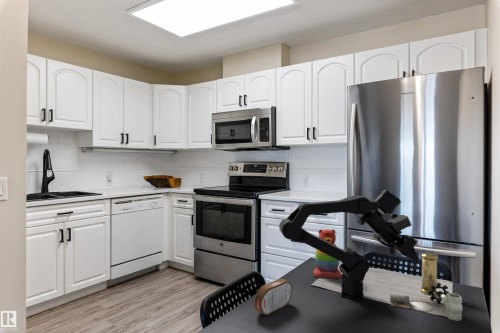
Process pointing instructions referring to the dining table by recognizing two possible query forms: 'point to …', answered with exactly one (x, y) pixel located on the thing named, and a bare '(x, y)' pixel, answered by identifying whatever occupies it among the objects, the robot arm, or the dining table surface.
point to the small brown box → (399, 300)
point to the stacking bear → (326, 258)
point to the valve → (448, 301)
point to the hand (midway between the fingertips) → (410, 256)
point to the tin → (273, 296)
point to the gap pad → (420, 306)
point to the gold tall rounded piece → (429, 272)
